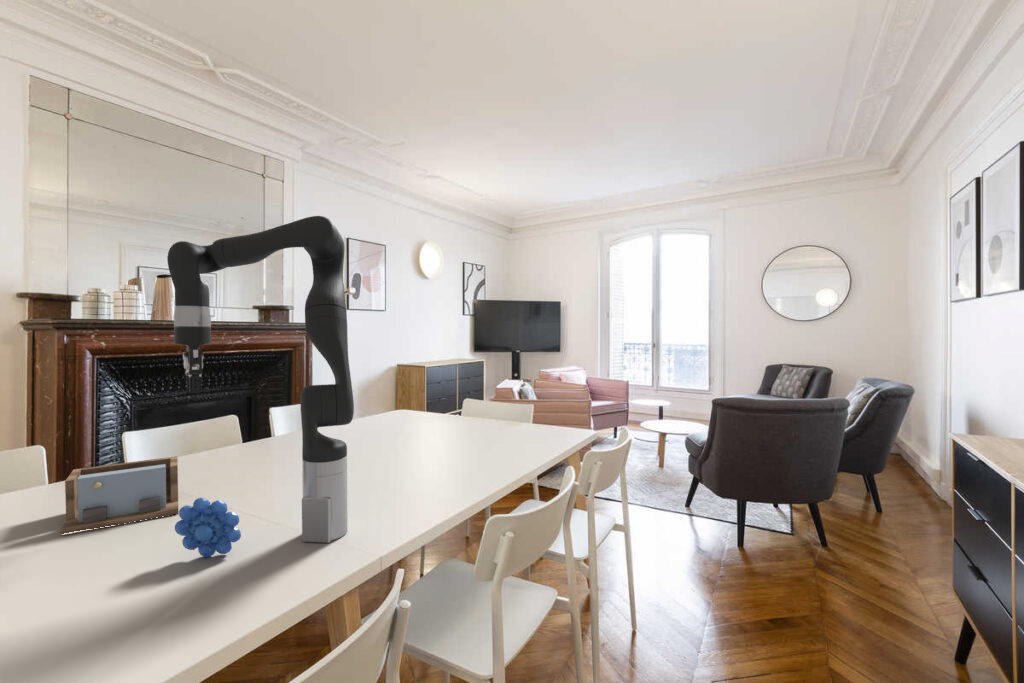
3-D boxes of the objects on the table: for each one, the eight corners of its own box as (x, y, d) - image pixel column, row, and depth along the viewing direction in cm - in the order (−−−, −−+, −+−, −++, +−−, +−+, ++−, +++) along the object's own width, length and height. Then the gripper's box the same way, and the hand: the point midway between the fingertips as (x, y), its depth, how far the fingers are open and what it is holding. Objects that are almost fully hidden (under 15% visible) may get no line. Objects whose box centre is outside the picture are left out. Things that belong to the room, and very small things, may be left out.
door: (166, 508, 116) (165, 467, 115) (77, 524, 106) (76, 479, 106) (166, 503, 119) (165, 464, 118) (80, 518, 109) (79, 475, 109)
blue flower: (165, 571, 89) (164, 508, 89) (180, 554, 96) (179, 495, 95) (234, 563, 92) (233, 502, 92) (244, 547, 98) (243, 490, 98)
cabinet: (178, 514, 116) (177, 471, 115) (61, 536, 104) (59, 488, 103) (178, 494, 130) (177, 456, 129) (74, 511, 117) (73, 469, 117)
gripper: (214, 324, 113) (215, 392, 113) (207, 326, 124) (208, 387, 124) (175, 324, 108) (176, 395, 108) (172, 325, 119) (173, 390, 119)
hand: (193, 391), depth 116 cm, fingers open, 8 cm apart
